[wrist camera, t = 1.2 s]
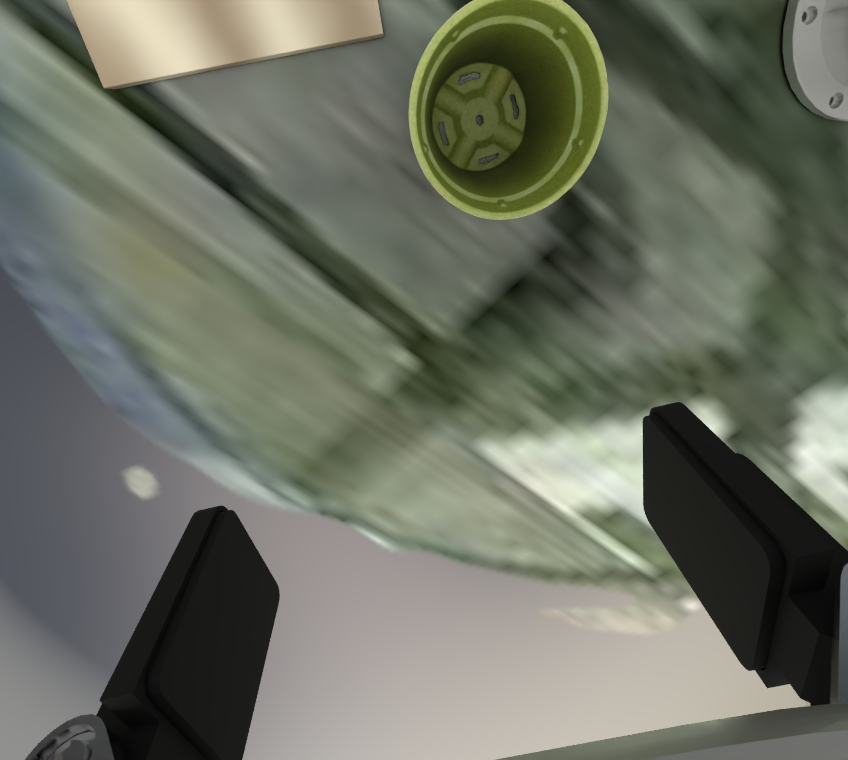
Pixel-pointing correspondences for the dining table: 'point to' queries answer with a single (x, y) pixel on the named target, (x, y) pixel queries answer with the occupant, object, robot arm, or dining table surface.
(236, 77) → the dining table surface
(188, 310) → the dining table surface
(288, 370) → the dining table surface
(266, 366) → the dining table surface
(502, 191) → the plant pot
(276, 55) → the plate
